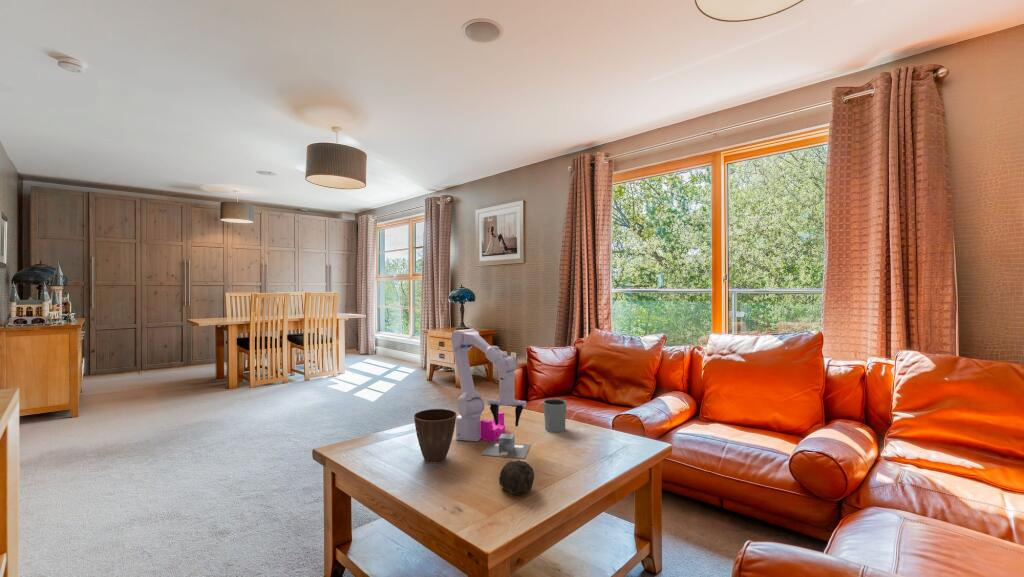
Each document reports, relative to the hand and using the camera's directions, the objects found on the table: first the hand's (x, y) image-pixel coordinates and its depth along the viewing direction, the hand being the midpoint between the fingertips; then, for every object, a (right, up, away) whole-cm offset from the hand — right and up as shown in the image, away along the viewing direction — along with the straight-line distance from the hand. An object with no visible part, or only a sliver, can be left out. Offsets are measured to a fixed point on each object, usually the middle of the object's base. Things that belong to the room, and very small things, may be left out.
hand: (506, 425), depth 167 cm
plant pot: (-25, -10, -9) cm, 29 cm away
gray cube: (0, -9, 0) cm, 9 cm away
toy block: (-5, -10, +18) cm, 21 cm away
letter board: (0, -9, 0) cm, 9 cm away
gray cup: (+20, -10, +24) cm, 33 cm away
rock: (+3, -10, -33) cm, 35 cm away
